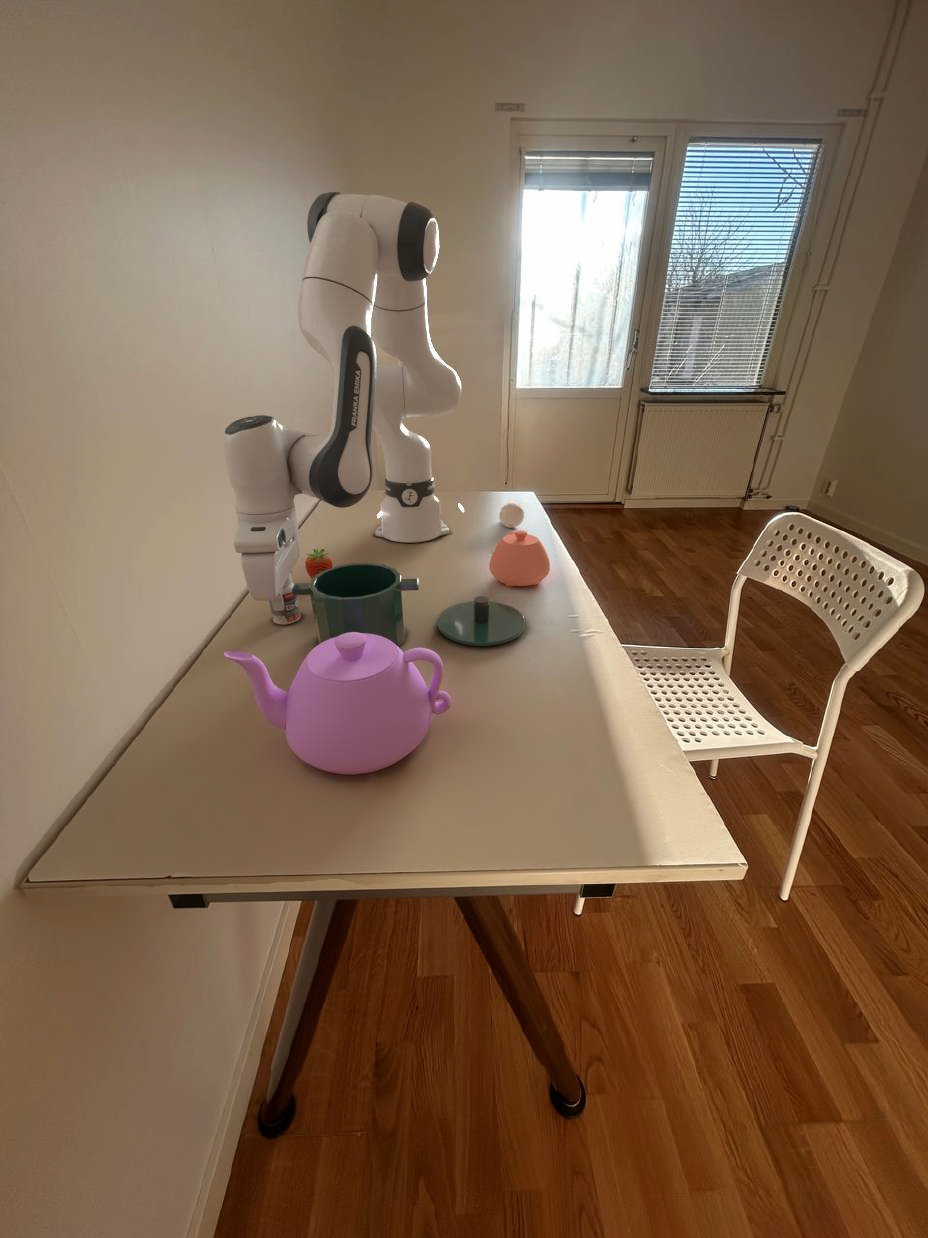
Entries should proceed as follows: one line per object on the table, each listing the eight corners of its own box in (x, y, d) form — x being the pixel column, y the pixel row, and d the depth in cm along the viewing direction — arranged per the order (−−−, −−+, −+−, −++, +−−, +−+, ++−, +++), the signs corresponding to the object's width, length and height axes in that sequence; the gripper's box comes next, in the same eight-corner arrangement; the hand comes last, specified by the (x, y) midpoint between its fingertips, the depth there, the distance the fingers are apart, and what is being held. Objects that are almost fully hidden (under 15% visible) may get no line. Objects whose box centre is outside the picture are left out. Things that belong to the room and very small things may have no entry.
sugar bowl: (496, 593, 100) (497, 543, 95) (482, 566, 112) (483, 521, 107) (556, 589, 101) (561, 540, 97) (536, 563, 114) (539, 518, 109)
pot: (310, 620, 91) (301, 565, 86) (420, 615, 92) (417, 560, 87) (294, 663, 78) (282, 602, 73) (421, 657, 80) (418, 596, 75)
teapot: (440, 681, 74) (437, 595, 68) (465, 769, 59) (464, 669, 52) (259, 703, 70) (237, 614, 63) (234, 804, 54) (202, 700, 48)
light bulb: (514, 528, 143) (524, 530, 133) (491, 525, 142) (500, 526, 131) (518, 504, 142) (529, 504, 131) (495, 501, 141) (504, 500, 130)
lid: (436, 608, 95) (435, 582, 92) (516, 604, 96) (517, 579, 93) (439, 651, 81) (438, 622, 79) (532, 646, 82) (534, 618, 80)
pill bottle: (292, 626, 89) (284, 582, 85) (267, 623, 90) (258, 580, 86) (305, 613, 93) (298, 571, 89) (281, 611, 94) (273, 569, 90)
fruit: (303, 587, 103) (297, 550, 99) (320, 578, 107) (314, 541, 103) (324, 592, 101) (319, 554, 97) (341, 582, 105) (336, 545, 101)
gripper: (265, 507, 92) (279, 577, 99) (229, 546, 74) (248, 630, 81) (301, 506, 92) (312, 576, 99) (274, 545, 74) (289, 628, 81)
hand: (283, 601), depth 90 cm, fingers closed on pill bottle, 5 cm apart
